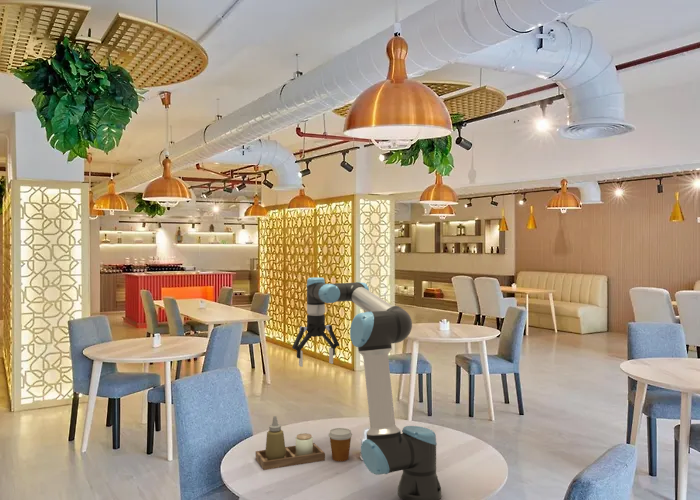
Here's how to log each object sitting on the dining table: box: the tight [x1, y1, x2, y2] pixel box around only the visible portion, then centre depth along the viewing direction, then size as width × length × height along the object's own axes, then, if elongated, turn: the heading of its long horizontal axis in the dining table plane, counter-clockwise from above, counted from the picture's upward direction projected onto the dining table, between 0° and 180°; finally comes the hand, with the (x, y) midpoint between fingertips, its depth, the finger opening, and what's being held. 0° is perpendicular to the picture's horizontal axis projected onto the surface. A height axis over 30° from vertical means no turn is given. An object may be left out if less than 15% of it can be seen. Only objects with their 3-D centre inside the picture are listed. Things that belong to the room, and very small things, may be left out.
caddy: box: [255, 442, 326, 471], centre depth 239 cm, size 13×25×4 cm, turn 113°
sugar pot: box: [295, 432, 314, 456], centre depth 241 cm, size 7×7×9 cm
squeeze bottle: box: [265, 416, 286, 460], centre depth 236 cm, size 8×8×18 cm
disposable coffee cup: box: [328, 427, 353, 462], centre depth 240 cm, size 10×10×12 cm
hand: (316, 364), depth 250 cm, fingers open, 13 cm apart
